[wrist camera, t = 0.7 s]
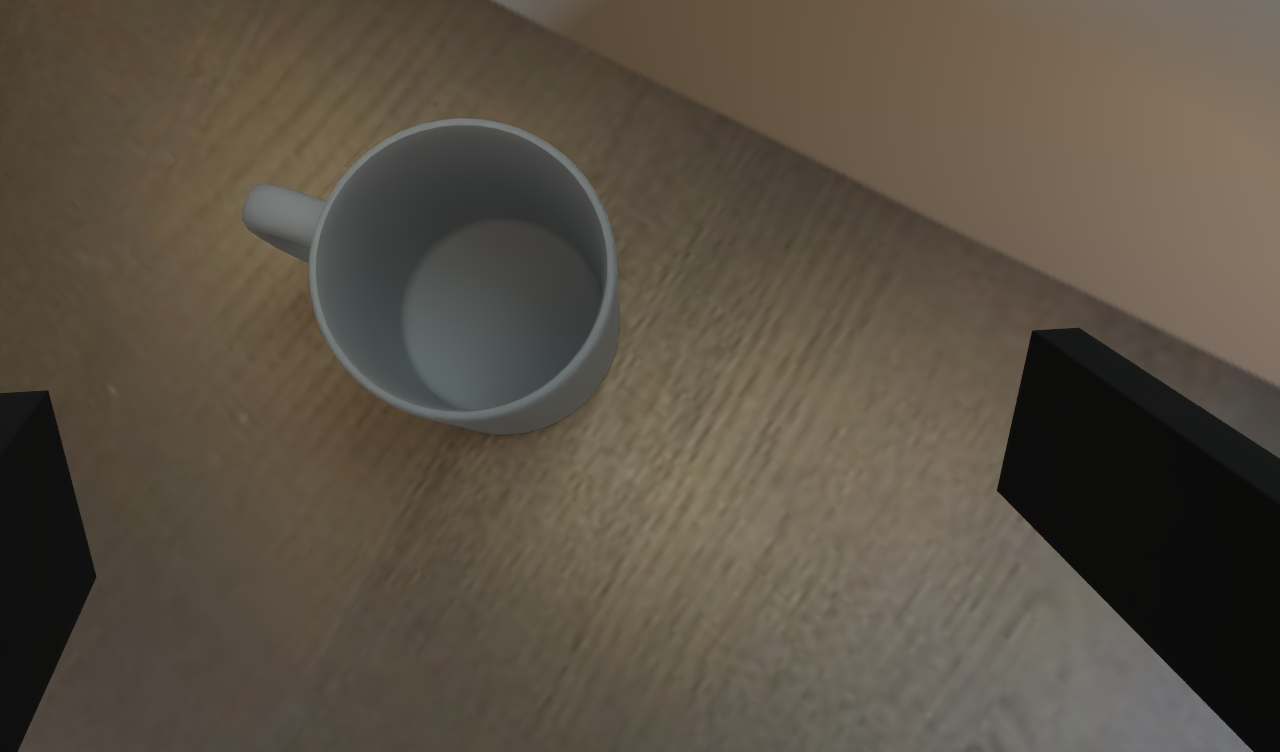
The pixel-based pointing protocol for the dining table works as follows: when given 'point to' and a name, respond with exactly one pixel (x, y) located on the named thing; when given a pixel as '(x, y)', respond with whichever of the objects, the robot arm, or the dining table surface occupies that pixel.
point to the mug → (459, 274)
